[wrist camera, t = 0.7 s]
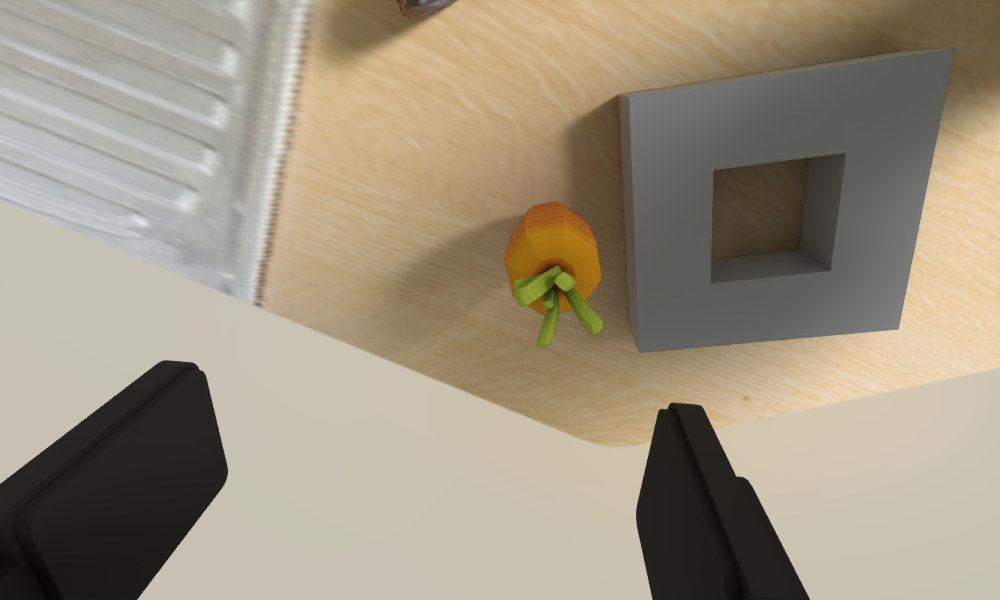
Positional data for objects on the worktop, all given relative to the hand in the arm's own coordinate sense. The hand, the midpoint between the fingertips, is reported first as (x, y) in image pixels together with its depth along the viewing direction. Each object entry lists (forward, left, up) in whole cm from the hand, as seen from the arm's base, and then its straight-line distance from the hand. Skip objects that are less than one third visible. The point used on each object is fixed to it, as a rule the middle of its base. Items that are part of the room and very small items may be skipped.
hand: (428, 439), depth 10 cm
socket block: (-16, +3, -25) cm, 30 cm away
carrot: (-3, +2, -26) cm, 26 cm away
